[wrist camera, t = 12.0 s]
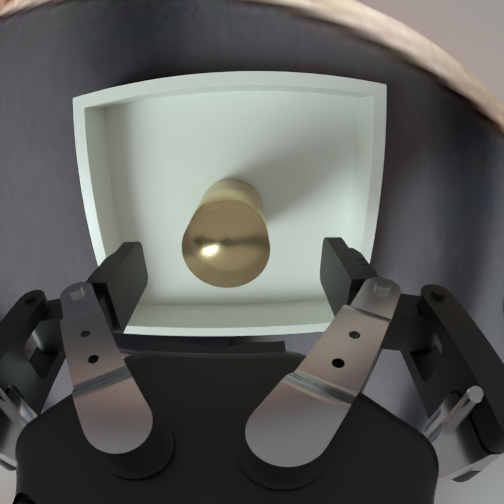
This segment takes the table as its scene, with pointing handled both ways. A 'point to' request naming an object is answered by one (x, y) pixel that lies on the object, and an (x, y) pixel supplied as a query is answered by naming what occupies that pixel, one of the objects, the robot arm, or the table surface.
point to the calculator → (141, 342)
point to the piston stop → (227, 235)
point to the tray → (239, 167)
